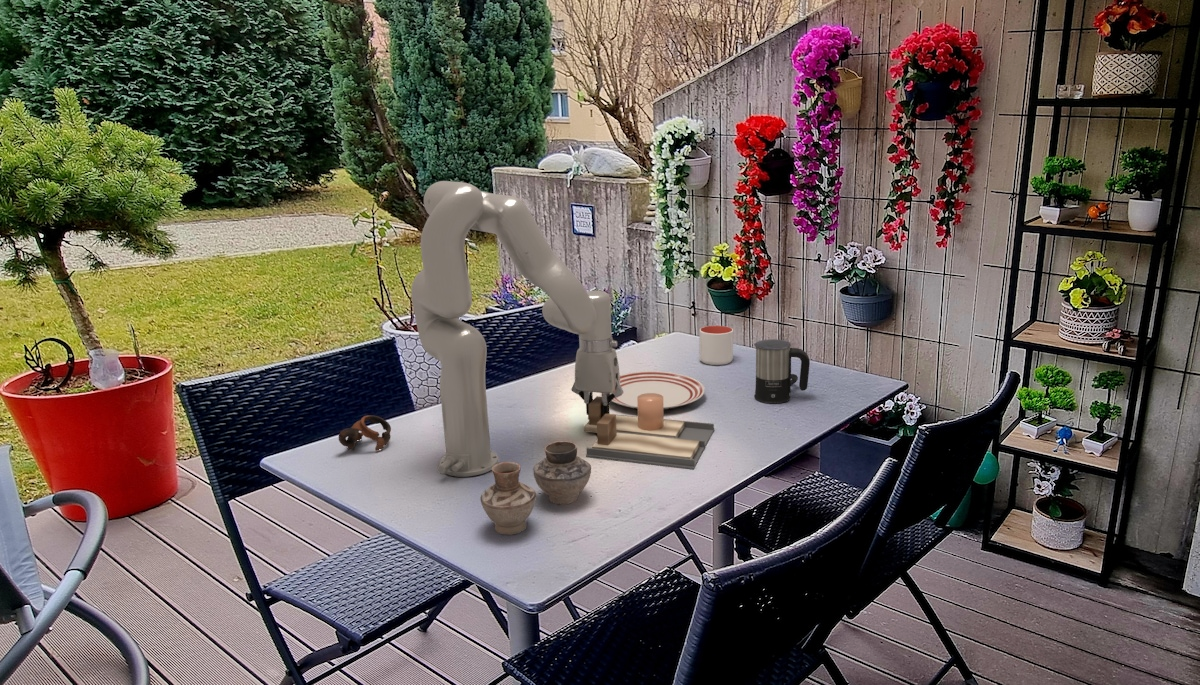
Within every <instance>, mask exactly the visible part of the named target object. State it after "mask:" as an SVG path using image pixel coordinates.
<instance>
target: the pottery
mask: <svg viewBox="0 0 1200 685" xmlns="http://www.w3.org/2000/svg"><path fill="white" fill-rule="evenodd" d="M544 452H545V456H546V457H544V458H543V459H541V460H539V461H538V462H537V463H536V464H535V465H534V466H533V468H532V472H533V476H534V480H535V482H536V484H537V486H538V487H539V488H540V489H541V491H542V492H544V493H545V494H546V495H548V499H549V501H550V502H551V503H553V504H556V505H568V504H572V503H574V502H576V501H577V500H578V498H579V494H580V492H582V491H583V490H584V489H585V487H586V486H587V484H588V483H589V481H590V478H591V473H592V466H591V463H590V462H588V461H587V460H585V459H583V458H582V457H580V456H578V447H577V444H576V443H575V442H572V441H567V440H562V441H561V440H560V441H559V440H558V441H553V442H550V443H549V444H547V445H546V446H545V447H544ZM521 467H522V466H521V465H520V464H519V463H517V462H513V461H503V462H498V464H496V465H494V466H493V467H492V470H491V471H492V475H493V477H494V482H495V483H494V484H492V485H491V486H489V487H488V488H486V489H485V490H484V491H483V492H482V493H481V495H480V499H479V500H480V503H481V506H482V509H483V510H484V512H485V514H486V515H487V517H488V518H489V520H490V521H491V522H493V523H494V529H495V532H497V533H498V534H500V535H508V536H510V535H516V533H517V534H520V533H521V531H522V532H523V531H525V530H526V529H527V526H528V525H527V519H528V518H529V516H530V515H531V513H532V511H533V509H534V506H535V502H536V498H537V493H536V491H535V489H534V488H532V487H531V486H529V485H528V484H525V483H523V482H521V481H520V480H519V479H520V473H521Z"/></svg>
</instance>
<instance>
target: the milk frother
mask: <svg viewBox="0 0 1200 685" xmlns="http://www.w3.org/2000/svg"><path fill="white" fill-rule="evenodd" d="M753 346H754V347H755V388H754V389H755V391H754V395H753V397H754V399H755V400H756V401H758V402H761V403H764V404H780V403H782V404H783V403H785V402H788V401H790V400H791V396H790V393H792V392H791V390H792V389H791V387H792V386H793V385H794V384H796V383H797V381H798V379H799V382H798V386H799V388H800V390H801V391H803V392H804V391H806V390H807V389H808V386H809V385H808V384H809V382H808V381H809V375H810V374H809V373H810V357H809V355H808V354H807V351H805V350H803V349H802V348H798V347H792V343H791V342H790V341H789V340H788V341H787V340H784V339H783V340H782V339H776V338H773V339H771V338H769V339H762V340H758V341H756V342H755V343H754V345H753ZM792 358H798V359H799V360H800V361H801V362H800V372H799V377H798V375H797V374H794V373H792Z"/></svg>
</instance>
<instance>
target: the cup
mask: <svg viewBox="0 0 1200 685" xmlns="http://www.w3.org/2000/svg"><path fill="white" fill-rule="evenodd" d="M698 346H699V352H698V353H699V355H698V356H699V360H700V362H701V363H703V364H706V365H710V366H724V365H727V364H729V363H731V362H732V361H733V360H734V328H731V327H730V326H726V325H725V326H724V325H707V326H703V327H702V326H701V327H700V328H699V345H698Z"/></svg>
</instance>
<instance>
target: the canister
mask: <svg viewBox="0 0 1200 685" xmlns="http://www.w3.org/2000/svg"><path fill="white" fill-rule="evenodd" d="M637 403H638V409H637V417H638V427H639V428H640V429H642V430H648V431H653V430H659V429H661V428H663V426H664V419H665V418H664V412H665V409H663V396H662V395H660V394H656V393H646V394H641V395H639V396H638V397H637Z"/></svg>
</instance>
